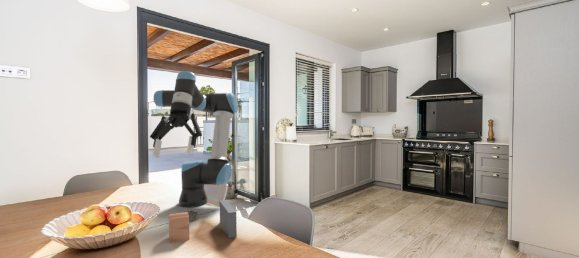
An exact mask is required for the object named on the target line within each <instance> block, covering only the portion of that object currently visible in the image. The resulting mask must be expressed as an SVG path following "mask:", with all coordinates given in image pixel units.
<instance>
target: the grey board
mask: <svg viewBox="0 0 579 258" xmlns="http://www.w3.org/2000/svg"><path fill="white" fill-rule="evenodd" d="M219 223H221V224H220V226H221V227H222V228H223V230H224V232H225V234H226V235H227V237H228V239H232V238H237V236H238V235H237V233H238V232H237V211H236V209H234V207H233V206H232V205H231V203H230V202H229V201H228V199H221V200H219Z"/></svg>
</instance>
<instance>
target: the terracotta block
mask: <svg viewBox="0 0 579 258" xmlns="http://www.w3.org/2000/svg"><path fill="white" fill-rule="evenodd" d="M182 212H183V213H182ZM182 212H177V213H169V214H168V227H169V228H168V230H169V231H168V232H169V243H170V244H171V243H177V242H183V241H187V240H188V241H189V240H190V222H189V214H188V212H185V211H182Z"/></svg>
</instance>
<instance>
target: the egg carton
mask: <svg viewBox="0 0 579 258" xmlns="http://www.w3.org/2000/svg"><path fill="white" fill-rule="evenodd" d="M183 212H188V214H189V223H191V222H193V221H194V220H198V218H199V215H200V212H198V211H195V210H194V209H193V210H192V209H191V208H189V209H187V210H184V211H182V212H181V213H183Z"/></svg>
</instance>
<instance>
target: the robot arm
mask: <svg viewBox="0 0 579 258" xmlns="http://www.w3.org/2000/svg"><path fill="white" fill-rule="evenodd" d="M196 79H197V77H196V75H195V74H194V73H193V72H192V71H188V70H182V71H180V72H178V74H177V76H176V79H175V86H174V89H173V90H171V89H169V90H164V89H163V90H156V91H155V92H154V94H153V102H154V105H156V106H157V107H159V108H170V110H169V113H170V114H169V116H168V117H167V116H164V115H162V116H161V119H160V121H159V123H158V124H157V126H156V127H155V129H154V130H153V131H152V133H151V134H150V136H149V137H150V138H151V139H152V140H153V144H152V147H153V151H152V152H153V153H152V156H154V157H156V158H159V157H160V152H161V150H162V149H161V148H162V144H163V142H162V139H163V138H164V137H165V136H166V135H167V134H168V133H169V132H170V131H171V130H174V128H183V127H184V128H186V130H187V131H188V132H189V134H190V135H189V138H188V144H187V150H186V153H187V154H188V155H190V156H191V155H193V153H194V147H195V146H196V145H197V138H199V137H202V136H203V133H202V130H201V128H200V126H199V123H198V116H197V115H196V114H195V113H191V112H192V111H191V110H195V111H198V112H204V113H209V114H210V113H211V114H212V113H213V116H214V117H215V120H214V128H213V137H212V143H211V144H212V145H211V151H210V152H211V153H210V157H209V158H207V162H205V161H204V159H203V160H201V159H200V160H191V161H187V162H185V163H182V165H181V171H180V173H181V193H180V195H179V199H178V206H180V207H183V208H184V207H185V208H191V207H192V208H193V207H199V206H202V205H206V204H207V203H208V201H209V200H208V195H207V192H206V190H205V185H210V186H211V185H212V186H213V185H214V186H221V185H224V186H225V185H227V184H228V183H229V182H230V179H231V176H232V173H233V169H232V168H233V167H232V164H231V163H230V160H229V159H228V158H227V156H228V148H229V137H230V128H231V119H232V118H233V117H234V114H235V113H236V114H237V112H238V108H239V107H238V100H237V97H236V95H235V94H234V93H231V92H225V93H224V92H223V93H222V92H221V93H220V92H219V93H218V92H217V93H215V92H214V93H211V92H209V93H202V92H201V91H200V90H199V88H198V86H197V85H196V82H197V81H196ZM189 120H191V123H192V126H193V128H194V130H195V131H194V130H193V129H192V127H191V126H190V124H189V123H188V122H189Z"/></svg>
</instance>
